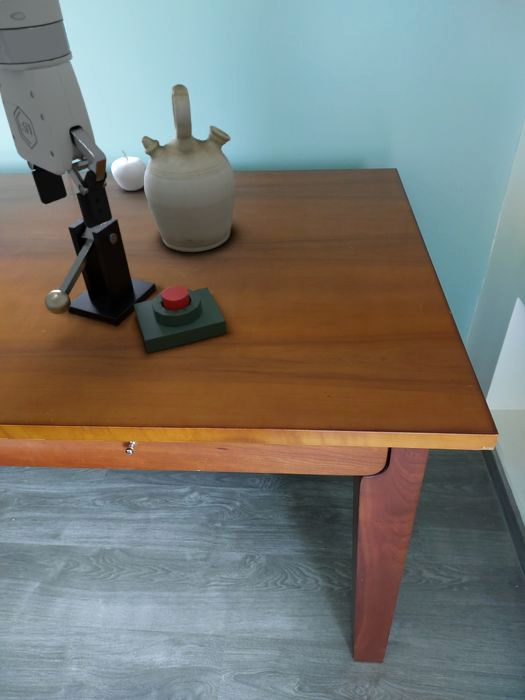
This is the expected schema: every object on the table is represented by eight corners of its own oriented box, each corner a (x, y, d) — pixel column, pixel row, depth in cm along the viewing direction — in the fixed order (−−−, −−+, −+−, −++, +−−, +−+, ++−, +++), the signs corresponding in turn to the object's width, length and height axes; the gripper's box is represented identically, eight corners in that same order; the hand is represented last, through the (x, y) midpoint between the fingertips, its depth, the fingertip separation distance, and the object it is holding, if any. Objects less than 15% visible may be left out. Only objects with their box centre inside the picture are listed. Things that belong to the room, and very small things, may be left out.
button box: (147, 353, 70) (142, 329, 67) (136, 316, 76) (130, 293, 74) (226, 333, 73) (224, 309, 70) (208, 299, 79) (206, 276, 77)
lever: (68, 321, 70) (54, 309, 67) (49, 315, 71) (35, 304, 68) (115, 235, 74) (104, 221, 71) (97, 232, 75) (85, 217, 72)
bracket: (117, 325, 75) (96, 245, 67) (68, 312, 78) (41, 233, 70) (156, 289, 82) (141, 212, 74) (109, 278, 85) (90, 203, 77)
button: (166, 313, 70) (164, 303, 69) (161, 299, 73) (159, 289, 72) (192, 307, 71) (191, 296, 70) (186, 294, 74) (184, 283, 73)
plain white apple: (118, 182, 115) (110, 145, 110) (151, 180, 116) (144, 143, 110) (113, 195, 110) (104, 157, 105) (147, 193, 110) (140, 155, 105)
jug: (243, 216, 100) (234, 71, 84) (232, 258, 88) (219, 98, 72) (164, 216, 101) (140, 73, 85) (144, 257, 90) (111, 100, 74)
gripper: (-47, 42, 53) (11, 202, 64) (36, 63, 44) (88, 246, 55) (22, 30, 57) (66, 182, 68) (112, 47, 48) (146, 221, 59)
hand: (76, 211), depth 61 cm, fingers open, 9 cm apart
